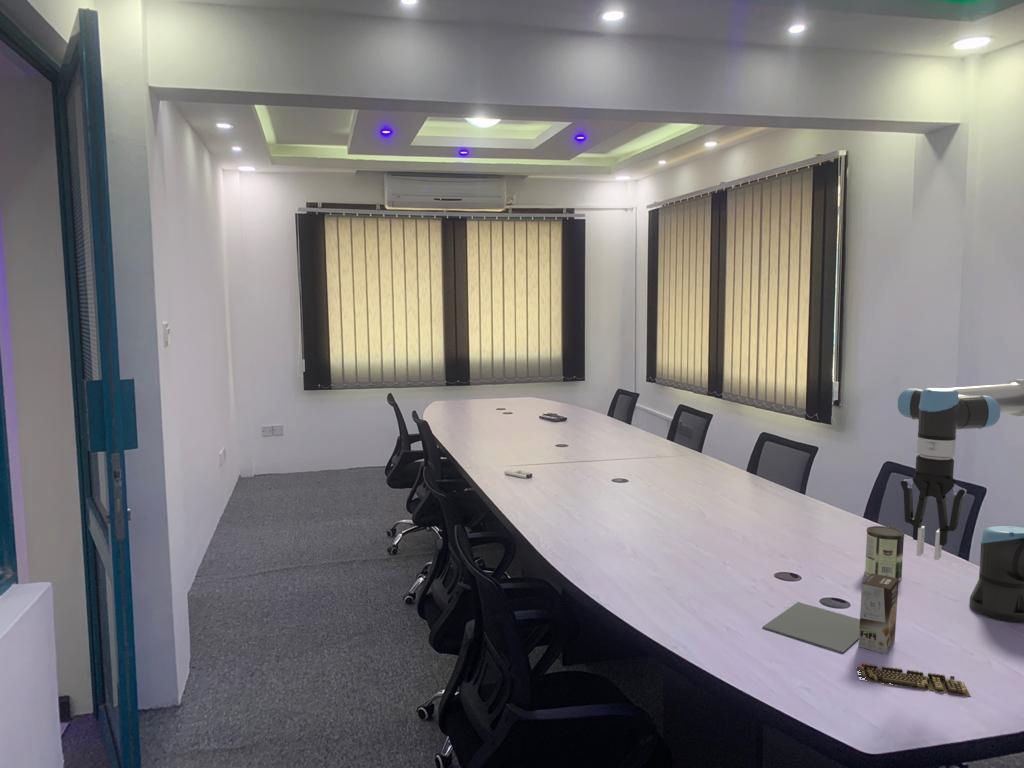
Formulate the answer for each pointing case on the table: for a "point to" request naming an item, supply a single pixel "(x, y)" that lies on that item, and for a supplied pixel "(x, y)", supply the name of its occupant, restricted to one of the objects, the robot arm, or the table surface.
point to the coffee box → (878, 612)
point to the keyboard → (913, 679)
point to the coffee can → (884, 551)
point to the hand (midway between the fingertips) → (928, 556)
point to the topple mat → (817, 627)
